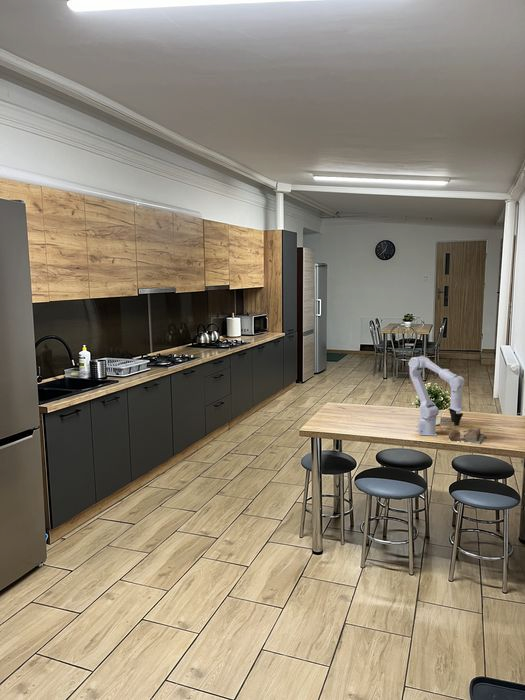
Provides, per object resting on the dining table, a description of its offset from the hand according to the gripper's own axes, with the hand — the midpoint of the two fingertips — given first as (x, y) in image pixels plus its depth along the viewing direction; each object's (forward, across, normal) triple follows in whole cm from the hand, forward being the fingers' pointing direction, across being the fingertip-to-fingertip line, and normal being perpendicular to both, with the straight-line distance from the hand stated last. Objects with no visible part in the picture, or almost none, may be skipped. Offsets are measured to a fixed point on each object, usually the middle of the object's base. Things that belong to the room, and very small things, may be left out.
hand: (455, 423), depth 293 cm
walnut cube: (+9, 0, 0) cm, 9 cm away
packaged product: (+10, +4, -10) cm, 15 cm away
